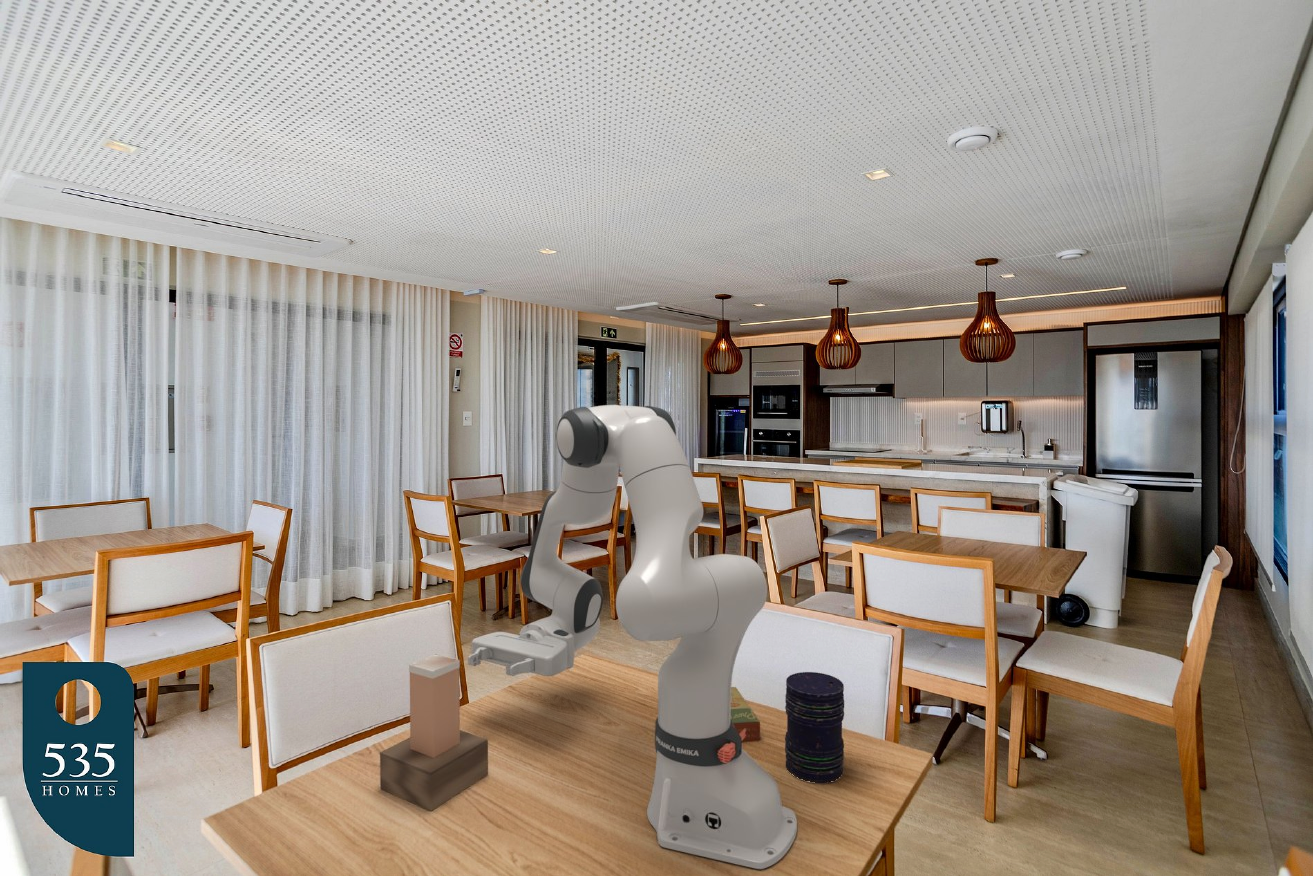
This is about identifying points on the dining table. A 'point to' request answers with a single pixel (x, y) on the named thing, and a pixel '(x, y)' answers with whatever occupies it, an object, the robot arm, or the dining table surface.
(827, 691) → the storage jar
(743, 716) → the carton
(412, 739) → the tall carton
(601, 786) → the dining table surface
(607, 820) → the dining table surface
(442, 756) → the wooden block
